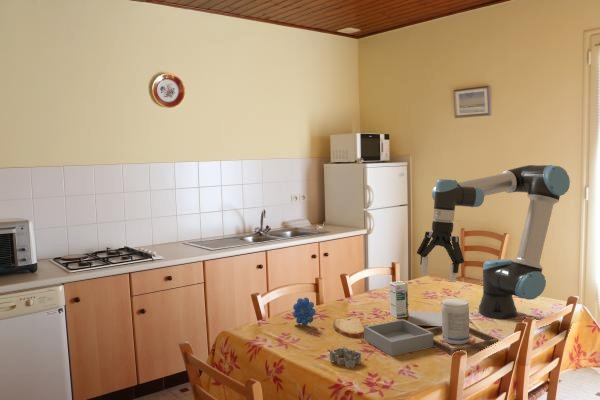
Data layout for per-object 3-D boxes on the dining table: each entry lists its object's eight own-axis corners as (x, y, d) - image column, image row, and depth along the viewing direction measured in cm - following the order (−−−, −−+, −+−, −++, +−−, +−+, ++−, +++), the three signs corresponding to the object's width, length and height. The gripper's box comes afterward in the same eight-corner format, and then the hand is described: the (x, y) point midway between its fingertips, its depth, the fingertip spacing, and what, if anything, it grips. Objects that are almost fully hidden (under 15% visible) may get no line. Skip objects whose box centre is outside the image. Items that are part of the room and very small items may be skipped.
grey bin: (403, 331, 200) (403, 319, 200) (433, 346, 184) (433, 333, 183) (364, 339, 193) (363, 326, 192) (391, 356, 176) (391, 342, 176)
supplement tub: (474, 341, 188) (474, 302, 186) (457, 347, 183) (457, 307, 181) (453, 334, 196) (453, 296, 195) (436, 339, 191) (436, 301, 189)
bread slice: (362, 340, 193) (361, 331, 193) (320, 332, 203) (320, 323, 202) (381, 326, 208) (381, 317, 208) (342, 319, 218) (341, 311, 217)
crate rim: (458, 327, 203) (458, 322, 203) (498, 344, 184) (498, 339, 184) (414, 336, 194) (414, 331, 194) (452, 355, 175) (452, 349, 175)
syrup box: (396, 318, 216) (395, 284, 215) (389, 314, 222) (389, 281, 220) (408, 316, 218) (407, 283, 216) (401, 312, 223) (401, 280, 222)
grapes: (322, 325, 210) (321, 296, 209) (312, 329, 205) (311, 300, 204) (300, 320, 218) (299, 292, 217) (289, 324, 212) (288, 296, 211)
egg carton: (326, 361, 175) (325, 349, 174) (341, 354, 180) (340, 343, 180) (349, 370, 167) (349, 357, 167) (364, 363, 172) (364, 351, 172)
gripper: (411, 217, 197) (405, 271, 198) (464, 225, 177) (458, 285, 178) (424, 217, 202) (419, 270, 203) (478, 225, 181) (472, 284, 182)
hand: (437, 277), depth 190 cm, fingers open, 13 cm apart
